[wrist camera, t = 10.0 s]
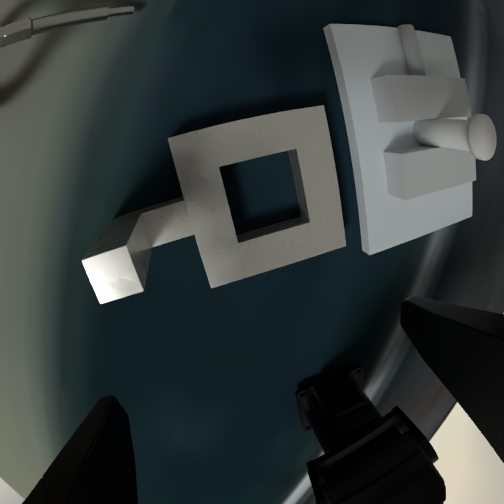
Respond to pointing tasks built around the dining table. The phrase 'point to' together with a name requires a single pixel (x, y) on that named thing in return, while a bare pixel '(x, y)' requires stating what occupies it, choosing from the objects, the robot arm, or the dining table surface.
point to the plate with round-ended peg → (406, 130)
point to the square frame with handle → (217, 209)
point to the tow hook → (58, 22)
